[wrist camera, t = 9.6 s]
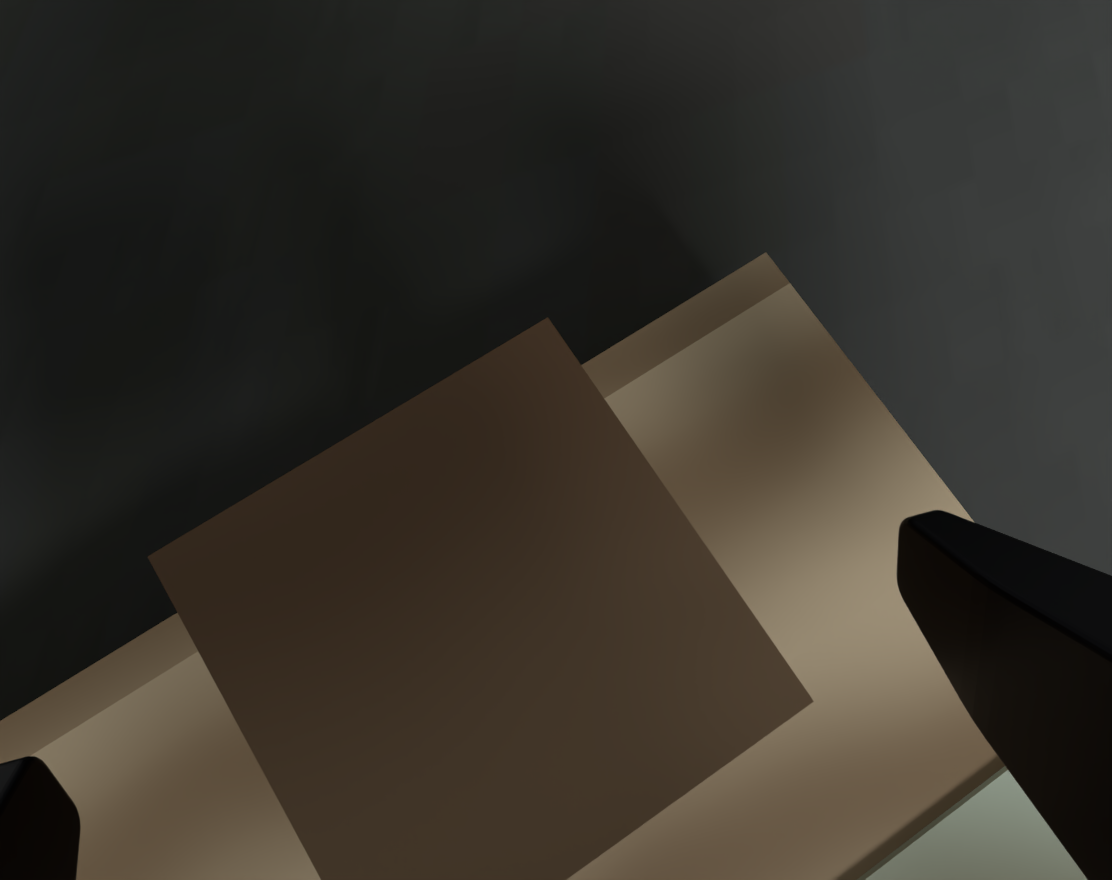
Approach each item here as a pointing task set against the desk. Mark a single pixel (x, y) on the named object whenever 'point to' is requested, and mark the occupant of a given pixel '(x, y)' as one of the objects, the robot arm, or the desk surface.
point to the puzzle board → (759, 577)
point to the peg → (477, 632)
